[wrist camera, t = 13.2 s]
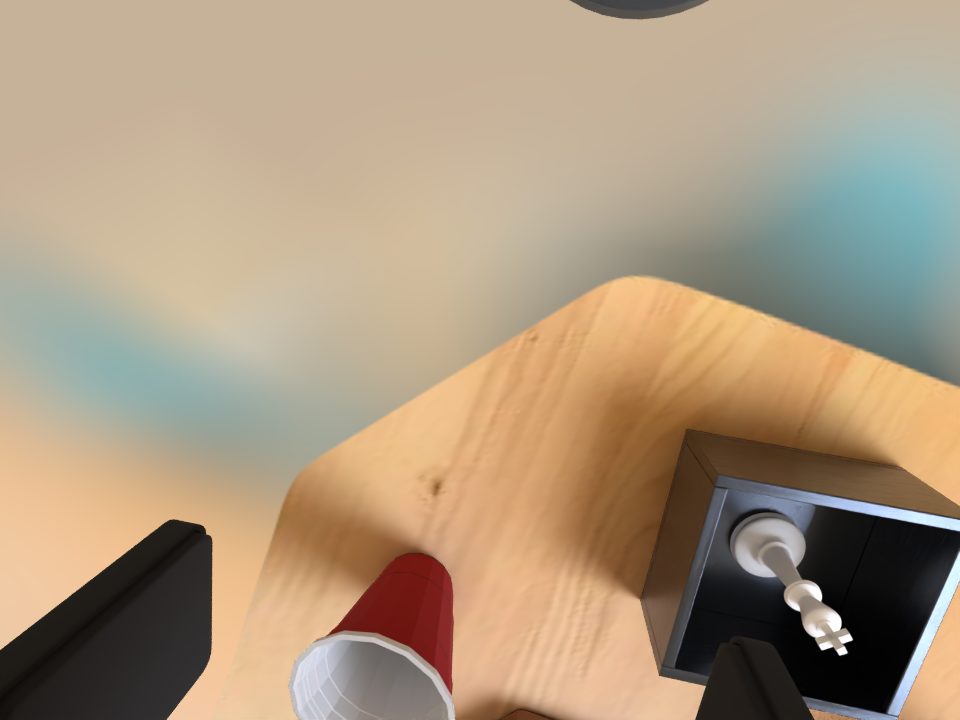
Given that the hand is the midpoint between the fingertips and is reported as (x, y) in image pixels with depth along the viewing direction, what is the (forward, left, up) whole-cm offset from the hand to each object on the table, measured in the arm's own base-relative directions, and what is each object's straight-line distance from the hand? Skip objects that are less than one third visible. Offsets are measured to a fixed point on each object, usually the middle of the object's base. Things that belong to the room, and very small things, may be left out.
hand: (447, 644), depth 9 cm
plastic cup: (+22, -5, -28) cm, 36 cm away
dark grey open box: (+12, +20, -28) cm, 37 cm away
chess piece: (+12, +20, -28) cm, 36 cm away
